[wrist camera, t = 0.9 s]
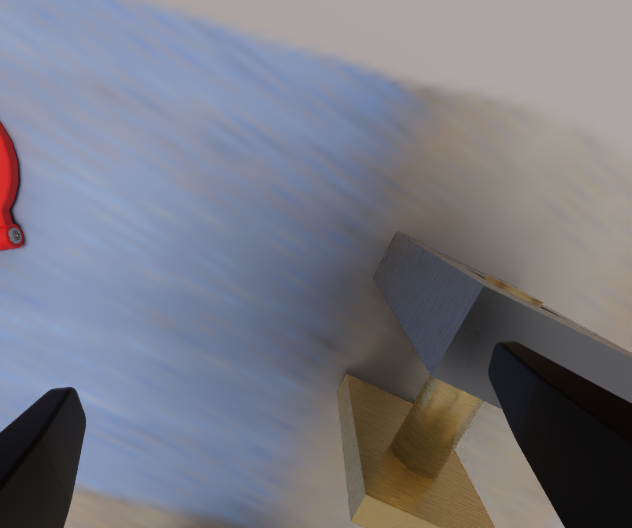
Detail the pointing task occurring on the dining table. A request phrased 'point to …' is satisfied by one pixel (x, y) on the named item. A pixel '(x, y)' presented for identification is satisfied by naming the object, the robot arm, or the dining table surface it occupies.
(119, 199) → the dining table surface
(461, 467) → the brass pin
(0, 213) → the tow hook
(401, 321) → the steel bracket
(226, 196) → the dining table surface
